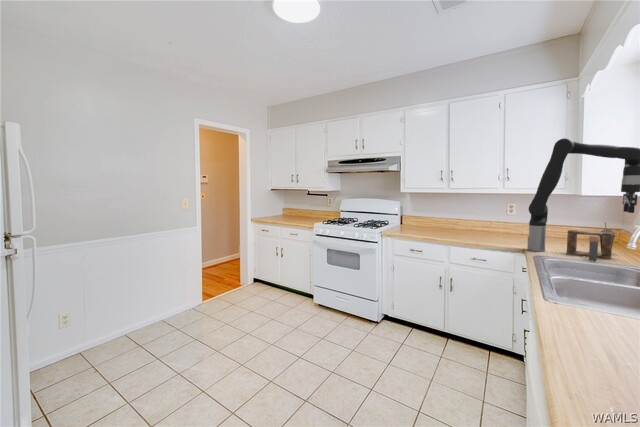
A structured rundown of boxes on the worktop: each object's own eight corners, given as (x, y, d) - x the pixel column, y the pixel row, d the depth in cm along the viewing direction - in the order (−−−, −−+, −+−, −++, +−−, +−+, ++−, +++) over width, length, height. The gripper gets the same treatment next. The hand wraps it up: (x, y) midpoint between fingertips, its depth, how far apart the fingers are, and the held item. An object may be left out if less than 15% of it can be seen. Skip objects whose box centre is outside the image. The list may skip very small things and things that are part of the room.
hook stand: (566, 254, 184) (567, 231, 183) (568, 252, 191) (569, 229, 190) (610, 259, 169) (611, 234, 168) (611, 256, 176) (612, 232, 175)
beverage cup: (616, 254, 182) (618, 223, 180) (601, 253, 184) (603, 222, 183) (610, 252, 188) (611, 222, 187) (595, 251, 191) (597, 221, 190)
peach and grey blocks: (587, 260, 169) (588, 236, 168) (589, 257, 175) (590, 234, 174) (597, 261, 166) (598, 237, 165) (598, 258, 172) (599, 235, 171)
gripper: (618, 184, 171) (615, 211, 172) (625, 183, 159) (623, 212, 161) (636, 183, 167) (633, 211, 168) (645, 183, 155) (642, 213, 156)
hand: (628, 212), depth 164 cm, fingers open, 8 cm apart
